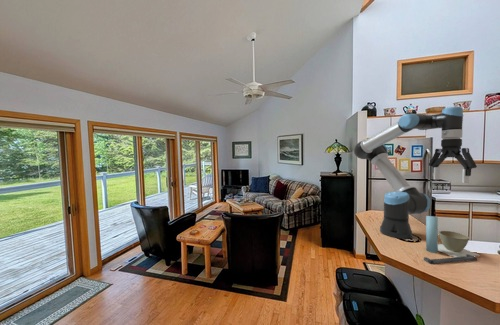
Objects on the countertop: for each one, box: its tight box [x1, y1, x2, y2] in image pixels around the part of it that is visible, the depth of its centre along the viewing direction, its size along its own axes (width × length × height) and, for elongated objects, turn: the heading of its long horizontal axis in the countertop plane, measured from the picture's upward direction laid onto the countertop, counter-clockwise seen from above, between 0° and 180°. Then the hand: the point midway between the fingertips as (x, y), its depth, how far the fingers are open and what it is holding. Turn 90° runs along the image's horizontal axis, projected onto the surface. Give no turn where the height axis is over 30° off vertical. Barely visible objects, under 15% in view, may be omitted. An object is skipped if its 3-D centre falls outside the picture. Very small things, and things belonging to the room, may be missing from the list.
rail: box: [423, 254, 478, 265], centre depth 89 cm, size 3×22×1 cm, turn 97°
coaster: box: [438, 243, 480, 258], centre depth 97 cm, size 12×12×1 cm
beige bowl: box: [438, 230, 470, 252], centre depth 97 cm, size 10×10×7 cm
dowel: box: [425, 215, 439, 254], centre depth 97 cm, size 4×4×16 cm
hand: (450, 181), depth 105 cm, fingers open, 13 cm apart
